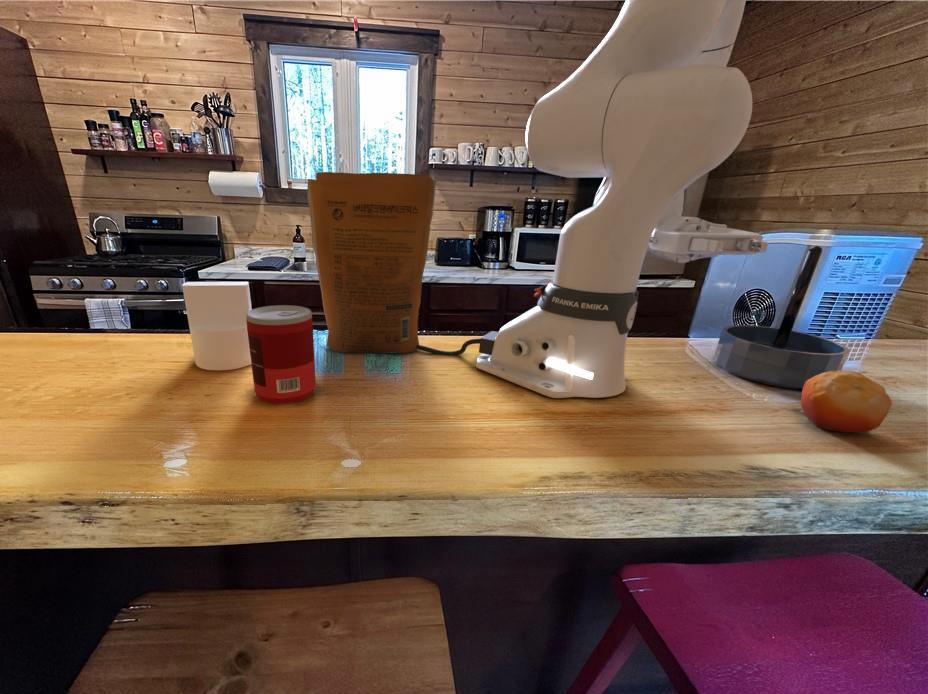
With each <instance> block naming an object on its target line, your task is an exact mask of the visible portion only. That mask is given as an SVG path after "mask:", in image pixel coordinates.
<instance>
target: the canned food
mask: <svg viewBox="0 0 928 694" xmlns="http://www.w3.org/2000/svg"><path fill="white" fill-rule="evenodd" d="M246 322H247V332H248V340H249V348H250V356H251V364H250V365H251V372H252V381H253V388H254V389H253V390H254V392H255V395H256V397H257V398H258V399H259V400H260V401H262V402H265V403H267V404H274V405H284V404H293V403H297V402H301V401H303V400H306V399H307V398H309V397H311V396H312V395H313V394H314V392H315V390H316V384H317V381H316V363H315V362H316V361H315V343H314V341H315V340H314V323H313V314H312V310H311V309H310V308H308V307H305V306H301V305H289V304H282V305H281V304H280V305H278V304H277V305H276V304H275V305H266V306H261V307H260V306H259V307H256V308H252V310H250V311H249V312H247V313H246Z"/></svg>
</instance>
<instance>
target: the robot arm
mask: <svg viewBox="0 0 928 694" xmlns="http://www.w3.org/2000/svg"><path fill="white" fill-rule="evenodd" d="M755 1H756V0H751V2H755ZM746 2H747V0H625V2H624V4H623V6H622V7H621V10H620V12H619V15H618V17H617V18H616V20H615V22H614V23H613V25H612V27H611V28H610V30H609V31H608V33H607V34H606V36H605V37H604V38H603V39H602V40H601V42H600V43H599V44H598V45H597V47H596V48H595V49H594V50H593V52H592V53H591V54H590V55H589V56H588V57H587V59H586V60H585V61H584V62H583V63H582V64H581V65H580V66H579V67H578V68H577V69H576V70H575V71H574V72H573V73H572V74H571V75H570V76H569V77H568V78H567V79H566V80H564V81H562V82H561V83H560V84H559V85H558V86H557V87H555V88H554V89H552V90H551V91H549V92H548V93H546V94H545V95H543V96H542V97H541V98H539V100H538V101H537V102H536V104H535V105H534V106H533V109H532V110H531V113H530V116H529V118H528V121H527V124H526V129H525V147H526V148H525V149H526V152H527V155H528V158H529V160H530V162H531V163H532V166H533V167H534V168H535V169H536V170H538V171H540V172H543V173H546V174H550V175H554V176H559V177H564V178H570V179H573V178H577V179H579V178H581V179H582V178H588V179H589V178H603V179H602V181H601V183H600V184H599V187H598V190H597V191H596V193H595V196H594V198H593V201H592V206H591V207H588V208H585V209H583V210H582V211H580V212H578V213H577V214H575V215H574V216H572V217H571V218H570V219H569V220H568V221H567V222H566V223H565V224H564V226H563V227H562V229H561V231H560V233H559V240H558V245H557V251H556V258H555V265H554V271H553V277H552V280H550V281H548V282H547V283H545V284H543V285H541V286H539V287H538V288H534V291H535V293H534V295H533V297H535V298H537V304H536V306H534V307H532V308H530V309H529V310H527V311H525V312H524V313H522V314H520V315H518V316H517V317H516V318H514V319H512V320H510V321H509V322H507V323H505V324H504V325H503V326H501V328H499V330H498V331H495V330H491V331H489V332H487V333H486V334H485V335H482V336H481V337H479V338H471V339H468V340H466V341H465V342H463V343H462V345H461V348H460V349H458V350H454V351H446V350H440V349H435V348H432V347H429V346H425V345H422V344H419V345H417V346H416V348H417V350H418V351H422V352H426V353H430V354H433V355H439V356H440V355H441V356H456V357H457V356H460V355H462V354H464V353H465V352H466V350H467V348H468V347H469V346H471V345H477V344H479V345H478V346H479V347H478V354H480V355H479V356H478V357H477V359H476V363H475V367H476V368H477V369H478V370H480V371H484V372H486V373H489V374H491V375H493V376H496V377H498V378H501V379H503V380H506V381H508V382H511V383H512V384H516V385H518V386H521V387H523V388H526V389H528V390H531V391H534V392H536V393H538V394H541V395H543V396H545V397H548V398H552V399H566V398H590V399H594V398H595V399H598V398H610V397H614V396H618V395H620V394H623V393H624V392H625V391H626V389H627V382H626V350H627V341H628V333H629V332H630V331H631V329H632V327H633V324H634V321H635V317H636V312H637V308H638V304H639V303H638V299H639V291H638V290H637V289H638V283H639V279H640V275H641V271H642V267H643V265H644V260H645V257H647V258H657V259H660V260H661V261H662V260H663V261H666V262H667V261H668V262H673V263H678V264H686V263H690V262H691V261H697V260H700V259H707V258H717V257H719V256H726V255H727V256H731V255H732V256H739V255H740V256H751V255H756V254H758V253H765V252H766V251H767V250H768V246H769V242H768V241H764V237H763V235H762V234H761V233H757V232H752V231H748V230H742V229H737V228H731V227H728V226H727V224H722V223H716V222H712V221H711V222H710V221H707V220H705V219H701V218H700V217H697V216H683V214H684V210H685V207H686V202H687V198H688V197H687V196H688V187H689V186H691V185H692V184H693V183H694V182H696V181H697V180H699V179H700V178H701V177H702V176H704V175H706V174H707V173H710V172H711V171H712V170H714V169H716V168H717V167H718V166H720V165H721V164H722V163H723V162H725V160H727V159H728V158H729V157H730V156H731V155H732V153H733V152H734V151H735V150H736V149H737V147H738V146H739V144H740V143H741V141H742V139H743V138H744V136H745V135H746V133H747V130H748V127H749V125H750V122H751V119H752V114H753V93H752V89H751V85H750V83H749V80H748V79H747V77H746V76H745V74H744V73H743V72H742V71H741V70H740V69H739V68H737V67H732V66H728V63H729V62H730V59H731V55H732V52H733V49H734V46H735V42H736V40H737V36H738V34H739V29H740V27H741V24H742V20H743V15H744V11H745V7H746Z"/></svg>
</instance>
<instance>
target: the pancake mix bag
mask: <svg viewBox="0 0 928 694" xmlns="http://www.w3.org/2000/svg"><path fill="white" fill-rule="evenodd" d="M436 188H437V180H435V179H434V178H432V177H430V176H429V175H426V174H425V175H424V174H414V173H394V172H364V173H355V172H354V173H353V172H333V171H321V172H315V179H312V178H307V189H306V190H307V203H308V208H309V217H310V228H311V237H312V238H311V239H312V248H313V252H314V256H315V266H316V270H317V276H318V281H319V287H320V291H321V292H320V293H321V299H322V300H321V301H322V307H323V313H324V316H325V322H326V326H327V332H328V333H327V337H326V338H327V339H326V345H325V347H327V348H328V349H331V350H332V351H335V352H338V353H344V354H348V353H349V354H355V353H359V354H401V355H404V354H409V353H413V352H415V351H418V349H417V348H416V346H417V345H420V341H419V340H420V339H419V334H418V319H419V311H420V306H421V300H422V286H423V278H424V277H423V276H424V271H425V267H426V262H427V257H428V252H429V244H430V236H431V235H430V233H431V224H432V221H433V215H434V207H435V199H436Z"/></svg>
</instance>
